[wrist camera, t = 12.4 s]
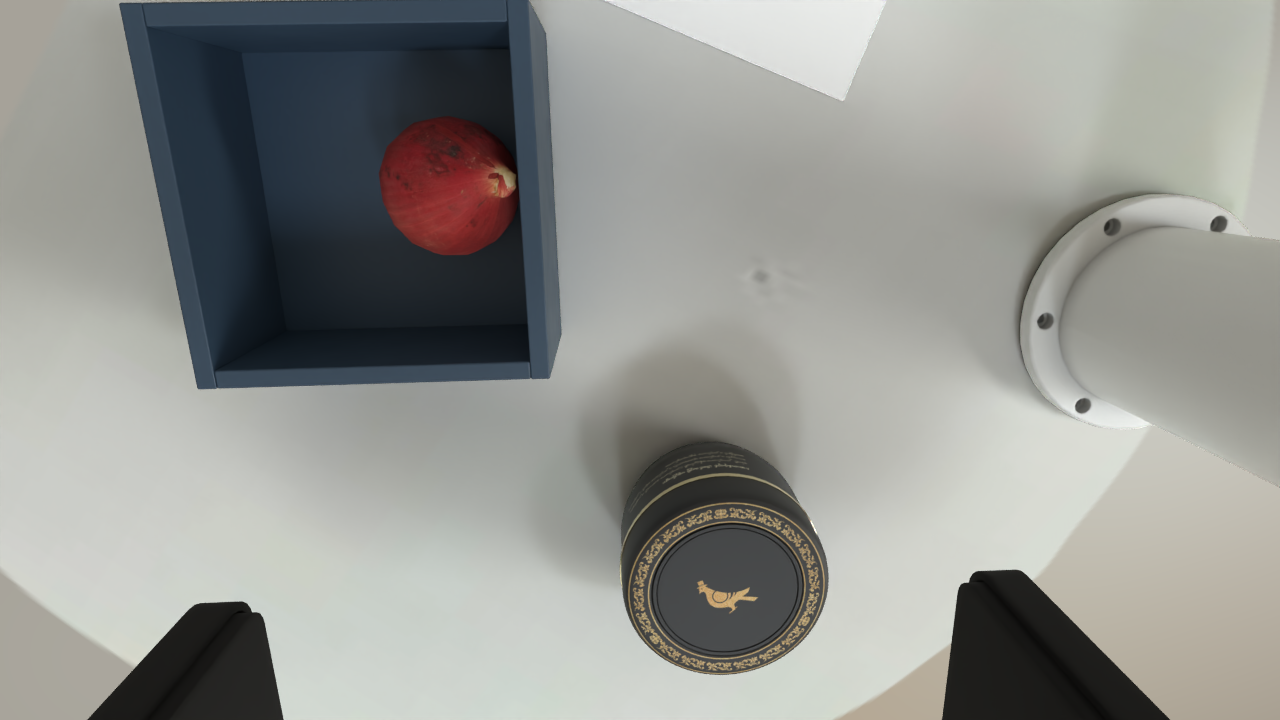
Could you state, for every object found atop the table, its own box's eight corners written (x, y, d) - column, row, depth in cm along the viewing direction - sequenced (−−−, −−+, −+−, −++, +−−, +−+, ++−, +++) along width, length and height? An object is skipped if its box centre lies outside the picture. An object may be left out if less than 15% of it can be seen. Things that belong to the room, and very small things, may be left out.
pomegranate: (322, 189, 31) (410, 165, 25) (404, 105, 33) (502, 67, 27) (416, 282, 34) (512, 280, 28) (484, 200, 36) (586, 183, 31)
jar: (801, 573, 42) (842, 662, 35) (634, 601, 42) (640, 697, 35) (782, 417, 39) (822, 478, 32) (604, 448, 39) (602, 516, 32)
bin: (545, 32, 33) (528, -3, 26) (561, 334, 37) (550, 378, 30) (227, 36, 33) (117, 2, 25) (278, 343, 37) (197, 389, 29)
